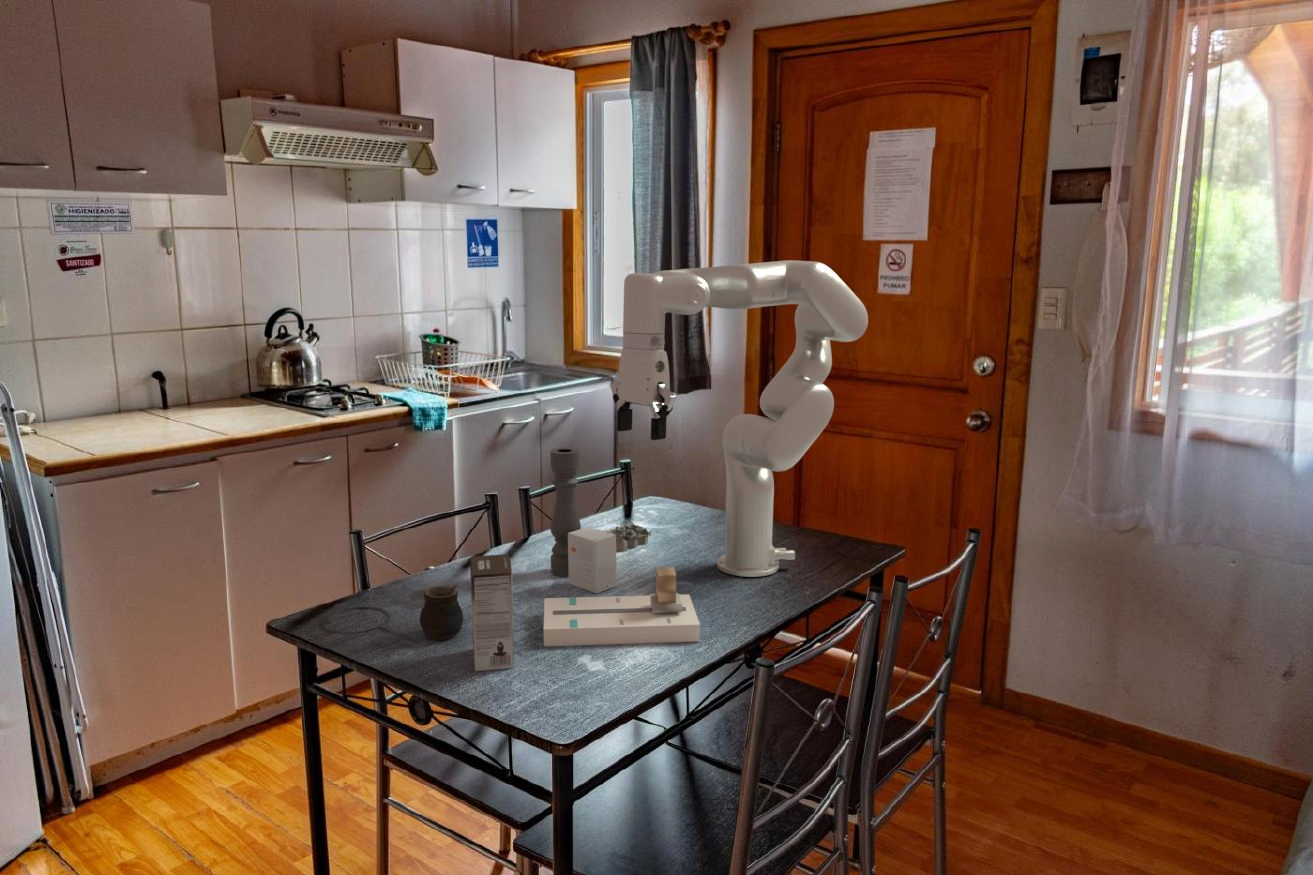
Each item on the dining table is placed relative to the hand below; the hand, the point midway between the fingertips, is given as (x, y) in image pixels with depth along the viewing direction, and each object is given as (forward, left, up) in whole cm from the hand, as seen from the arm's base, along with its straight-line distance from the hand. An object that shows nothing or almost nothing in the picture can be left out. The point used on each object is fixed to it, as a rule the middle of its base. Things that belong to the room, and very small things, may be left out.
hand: (641, 434), depth 184 cm
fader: (-3, +17, -27) cm, 32 cm away
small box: (+9, -4, -31) cm, 32 cm away
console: (+5, +17, -30) cm, 35 cm away
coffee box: (+26, +28, -31) cm, 49 cm away
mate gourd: (+35, +18, -31) cm, 50 cm away
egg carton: (+1, -29, -31) cm, 42 cm away
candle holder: (+14, -12, -31) cm, 36 cm away
